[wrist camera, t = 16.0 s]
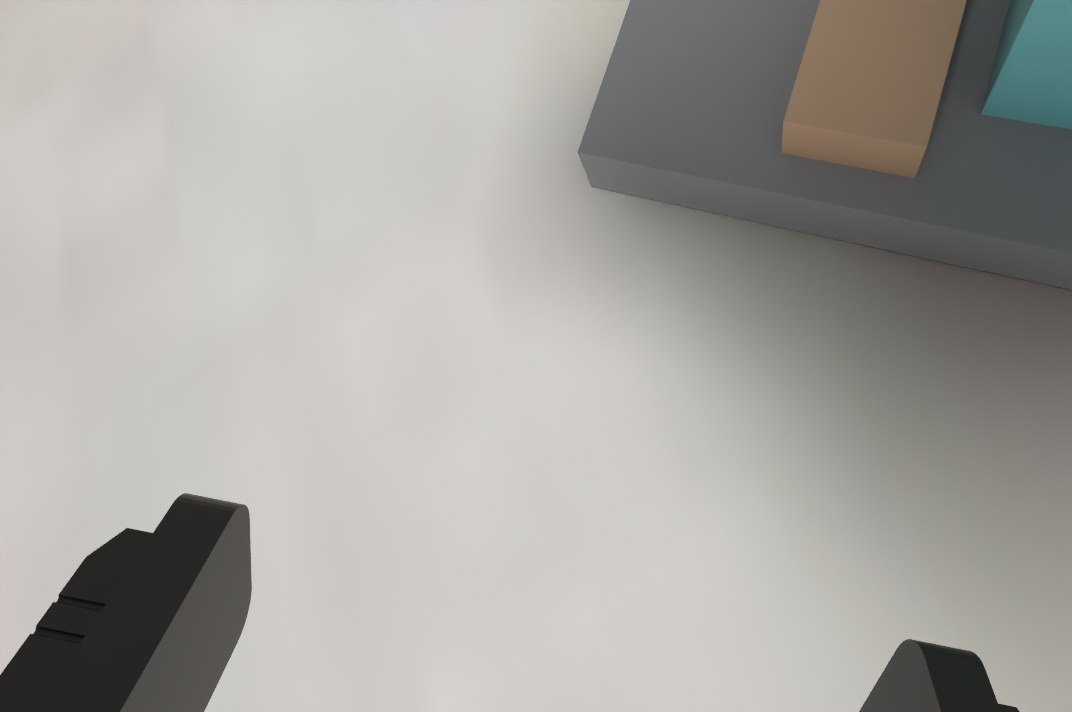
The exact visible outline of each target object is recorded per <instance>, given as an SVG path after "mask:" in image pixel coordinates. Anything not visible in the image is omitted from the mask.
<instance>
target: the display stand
mask: <svg viewBox="0 0 1072 712" xmlns="http://www.w3.org/2000/svg"><path fill="white" fill-rule="evenodd" d="M1009 3H1010V0H630V3H629V6H628V9H627V12H626V15H625V18H624V20H623V23H622V26H621V29H620V32H619V35H618V38H617V41H616V44H615V46H614V49H613V52H612V55H611V58H610V61H609V64H608V67H607V70H606V72H605V75H604V78H603V81H602V84H601V87H600V90H599V93H598V96H597V98H596V101H595V104H594V107H593V110H592V113H591V116H590V119H589V122H588V124H587V127H586V130H585V133H584V136H583V139H582V142H581V145H580V148H579V150H578V154H579V156H580V159H581V161H582V164H583V166H584V169H585V171H586V174H587V176H588V179H589V181H590V184H591V186H592V187H596V188H600V189H605V190H609V191H614V192H619V193H623V194H628V195H633V196H637V197H642V198H647V199H651V200H656V201H660V202H665V203H670V204H674V205H679V206H684V207H688V208H693V209H698V210H702V211H707V212H712V213H716V214H721V215H725V216H730V217H735V218H739V219H744V220H749V221H753V222H758V223H763V224H767V225H772V226H776V227H781V228H786V229H790V230H795V231H800V232H804V233H809V234H814V235H818V236H823V237H828V238H832V239H837V240H841V241H846V242H851V243H855V244H860V245H865V246H869V247H874V248H879V249H883V250H888V251H892V252H897V253H902V254H906V255H911V256H916V257H920V258H925V259H930V260H934V261H939V262H944V263H948V264H953V265H957V266H962V267H967V268H971V269H976V270H981V271H985V272H990V273H995V274H999V275H1004V276H1009V277H1013V278H1018V279H1022V280H1027V281H1032V282H1036V283H1041V284H1046V285H1050V286H1055V287H1060V288H1064V289H1069V290H1072V129H1066V128H1060V127H1053V126H1047V125H1041V124H1035V123H1029V122H1023V121H1017V120H1011V119H1005V118H999V117H993V116H987V115H981V111H982V107H983V103H984V99H985V96H986V92H987V88H988V84H989V80H990V76H991V72H992V69H993V65H994V61H995V57H996V53H997V49H998V46H999V42H1000V38H1001V34H1002V30H1003V26H1004V22H1005V19H1006V15H1007V11H1008V7H1009Z"/></svg>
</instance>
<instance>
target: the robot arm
mask: <svg viewBox="0 0 1072 712" xmlns="http://www.w3.org/2000/svg"><path fill="white" fill-rule="evenodd" d="M251 588H252V584H251V551H250V519H249V511H248V508H247V506H246V505H242V504H237V503H232V502H227V501H222V500H217V499H212V498H207V497H202V496H197V495H192V494H186V493H185V494H182V495H181V496H179V497H178V498H177V499H176V500H175V501H174V503H173V504H172V506H171V507H170V509H169V510H168V512H167V513H166V515H165V516H164V518H163V519H162V521H161V522H160V524H159V525H158V527H157V528H156V530H155V531H154V533H149V532H144V531H139V530H134V529H129V528H126V529H125V530H124V531H122V532H121V533H119V534H118V535H117V536H115V537H114V538H112V539H111V540H110V541H108V542H107V543H105V544H104V545H102V546H101V547H100V548H98V549H97V550H95V551H94V552H93V553H91V554H90V555H88V556H87V557H86V558H85V559H84V561H83V562H82V564H81V565H80V566H79V568H78V569H77V570H76V572H75V573H74V575H73V576H72V577H71V579H70V580H69V581H68V583H67V584H66V586H65V587H64V588H63V590H62V591H61V592H60V594H59V598H58V601H57V602H53V603H52V605H51V606H50V608H49V609H48V610H47V612H46V613H45V614H44V616H43V617H42V619H41V620H40V621H39V623H38V624H37V625H36V630H35V632H34V634H30V635H29V636H28V638H27V639H26V641H25V642H24V643H23V645H22V646H21V647H20V649H19V650H18V652H17V653H16V654H15V656H14V657H13V658H12V660H11V661H10V663H9V664H8V665H7V667H6V668H5V669H4V671H3V672H2V674H1V675H0V712H204V711H205V709H206V706H207V704H208V702H209V700H210V698H211V696H212V694H213V692H214V690H215V688H216V686H217V684H218V682H219V679H220V677H221V675H222V673H223V671H224V669H225V667H226V665H227V663H228V661H229V659H230V657H231V655H232V653H233V650H234V648H235V646H236V644H237V642H238V640H239V638H240V635H241V633H242V630H243V627H244V624H245V621H246V618H247V614H248V610H249V605H250V599H251ZM859 712H1019V710H1018V709H1017V708H1016V707H1012V706H1007V705H1002V704H998V703H997V700H996V697H995V695H994V692H993V689H992V686H991V684H990V681H989V678H988V676H987V673H986V670H985V668H984V665H983V663H982V661H981V660H980V658H979V657H978V656H977V655H976V654H975V653H973V652H971V651H966V650H961V649H956V648H951V647H946V646H941V645H936V644H931V643H926V642H921V641H916V640H911V639H909V640H905V641H903V642H902V643H901V644H900V645H899V647H898V648H897V650H896V651H895V653H894V655H893V656H892V658H891V660H890V661H889V663H888V665H887V666H886V668H885V670H884V671H883V673H882V675H881V676H880V678H879V680H878V681H877V683H876V685H875V686H874V688H873V690H872V691H871V693H870V695H869V696H868V698H867V700H866V701H865V703H864V704H863V706H862V708H861V710H860V711H859Z"/></svg>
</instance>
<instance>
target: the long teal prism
mask: <svg viewBox="0 0 1072 712" xmlns="http://www.w3.org/2000/svg"><path fill="white" fill-rule="evenodd" d="M981 115H987V116H993V117H999V118H1005V119H1011V120H1017V121H1023V122H1029V123H1035V124H1041V125H1047V126H1053V127H1060V128H1066V129H1072V0H1010V3H1009V7H1008V11H1007V15H1006V19H1005V22H1004V26H1003V30H1002V34H1001V38H1000V42H999V46H998V49H997V53H996V57H995V61H994V65H993V69H992V72H991V76H990V80H989V84H988V88H987V92H986V96H985V99H984V103H983V107H982V111H981Z"/></svg>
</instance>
